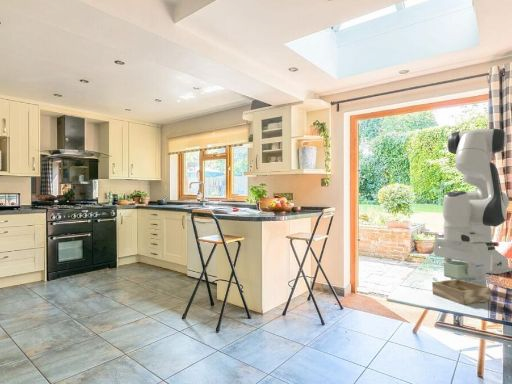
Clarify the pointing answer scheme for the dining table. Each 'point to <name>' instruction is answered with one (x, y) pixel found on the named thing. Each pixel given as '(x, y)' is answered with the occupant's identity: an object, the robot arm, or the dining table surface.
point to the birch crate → (461, 291)
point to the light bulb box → (477, 275)
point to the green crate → (457, 270)
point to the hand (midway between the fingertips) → (459, 272)
